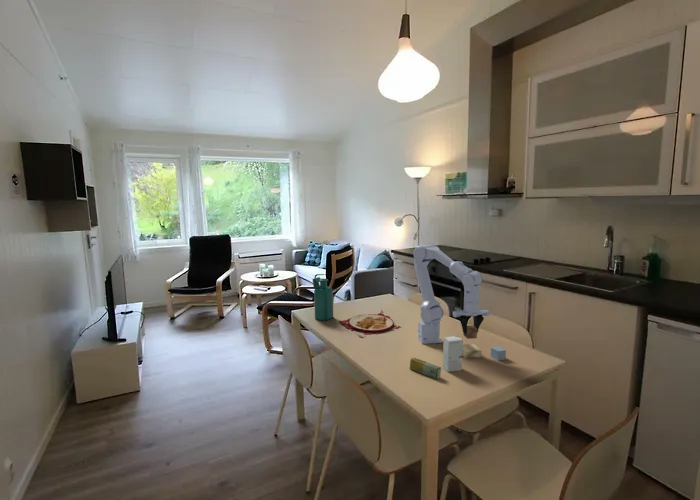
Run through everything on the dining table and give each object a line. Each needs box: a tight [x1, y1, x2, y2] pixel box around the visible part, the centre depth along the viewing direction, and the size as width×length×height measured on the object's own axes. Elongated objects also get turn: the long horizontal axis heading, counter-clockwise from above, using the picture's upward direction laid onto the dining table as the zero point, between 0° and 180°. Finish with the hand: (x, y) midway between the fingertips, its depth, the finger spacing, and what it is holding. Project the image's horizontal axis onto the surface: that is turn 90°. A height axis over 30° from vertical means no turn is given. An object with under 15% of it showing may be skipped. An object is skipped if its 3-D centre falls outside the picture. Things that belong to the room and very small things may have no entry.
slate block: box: [490, 345, 507, 362], centre depth 146 cm, size 4×4×4 cm
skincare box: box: [442, 335, 464, 373], centre depth 136 cm, size 6×4×12 cm
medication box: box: [409, 357, 442, 380], centre depth 134 cm, size 12×3×4 cm, turn 46°
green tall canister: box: [312, 276, 334, 322], centre depth 196 cm, size 10×8×22 cm
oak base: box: [462, 343, 482, 359], centre depth 150 cm, size 7×7×3 cm
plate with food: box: [338, 309, 402, 338], centre depth 185 cm, size 25×26×4 cm
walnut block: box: [462, 325, 478, 340], centre depth 149 cm, size 4×4×4 cm
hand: (470, 332), depth 149 cm, fingers closed on walnut block, 4 cm apart
